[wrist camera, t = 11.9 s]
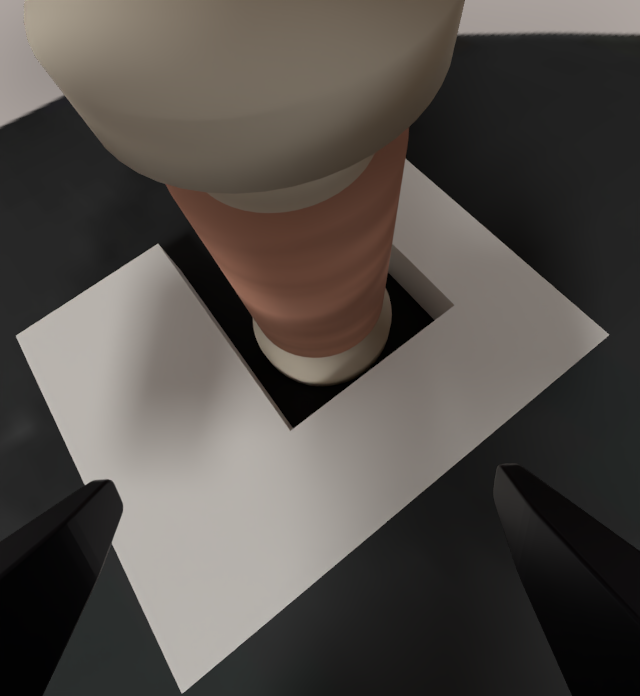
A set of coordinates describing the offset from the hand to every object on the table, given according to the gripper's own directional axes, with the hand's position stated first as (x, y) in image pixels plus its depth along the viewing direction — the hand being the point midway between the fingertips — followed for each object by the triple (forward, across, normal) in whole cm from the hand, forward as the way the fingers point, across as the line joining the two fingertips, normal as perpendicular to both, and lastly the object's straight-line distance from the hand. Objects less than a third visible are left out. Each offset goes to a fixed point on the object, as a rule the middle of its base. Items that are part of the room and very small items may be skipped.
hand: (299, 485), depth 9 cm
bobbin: (+11, 0, 0) cm, 11 cm away
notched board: (+10, +1, +1) cm, 10 cm away
